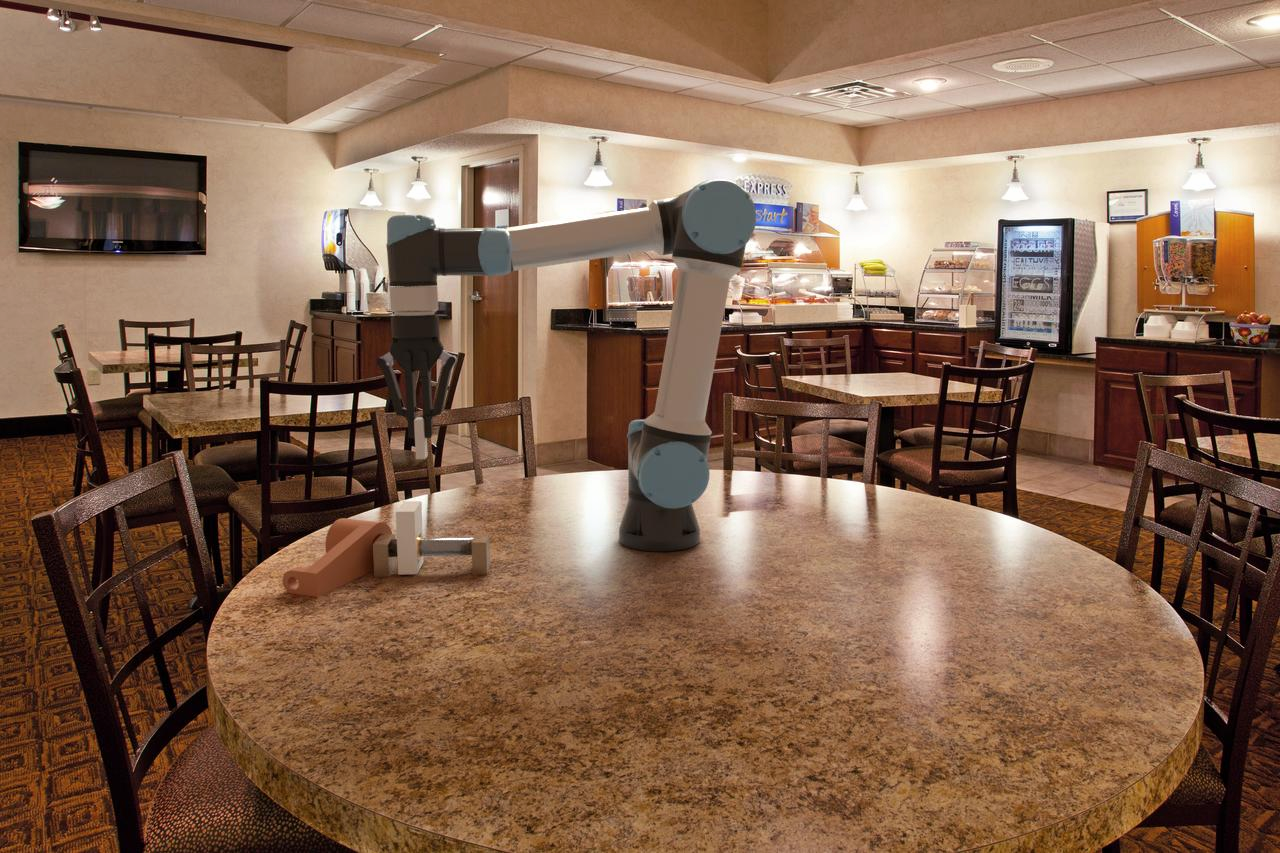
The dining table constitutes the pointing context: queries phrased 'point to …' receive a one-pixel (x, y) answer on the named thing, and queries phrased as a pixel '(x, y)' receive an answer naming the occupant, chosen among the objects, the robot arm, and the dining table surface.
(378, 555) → the pipe rig
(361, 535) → the crank
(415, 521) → the sleeve
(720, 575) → the dining table surface
